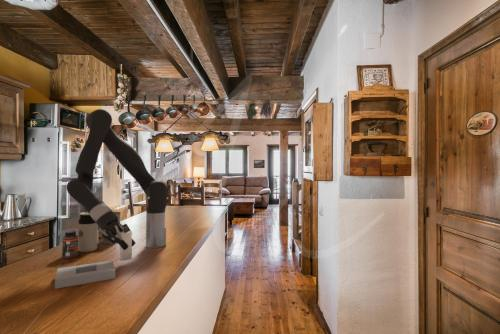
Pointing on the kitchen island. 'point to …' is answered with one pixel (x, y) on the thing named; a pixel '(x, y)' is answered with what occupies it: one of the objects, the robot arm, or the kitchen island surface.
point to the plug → (127, 238)
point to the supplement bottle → (70, 245)
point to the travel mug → (87, 233)
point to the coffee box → (100, 237)
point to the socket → (84, 274)
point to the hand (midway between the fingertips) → (130, 246)
